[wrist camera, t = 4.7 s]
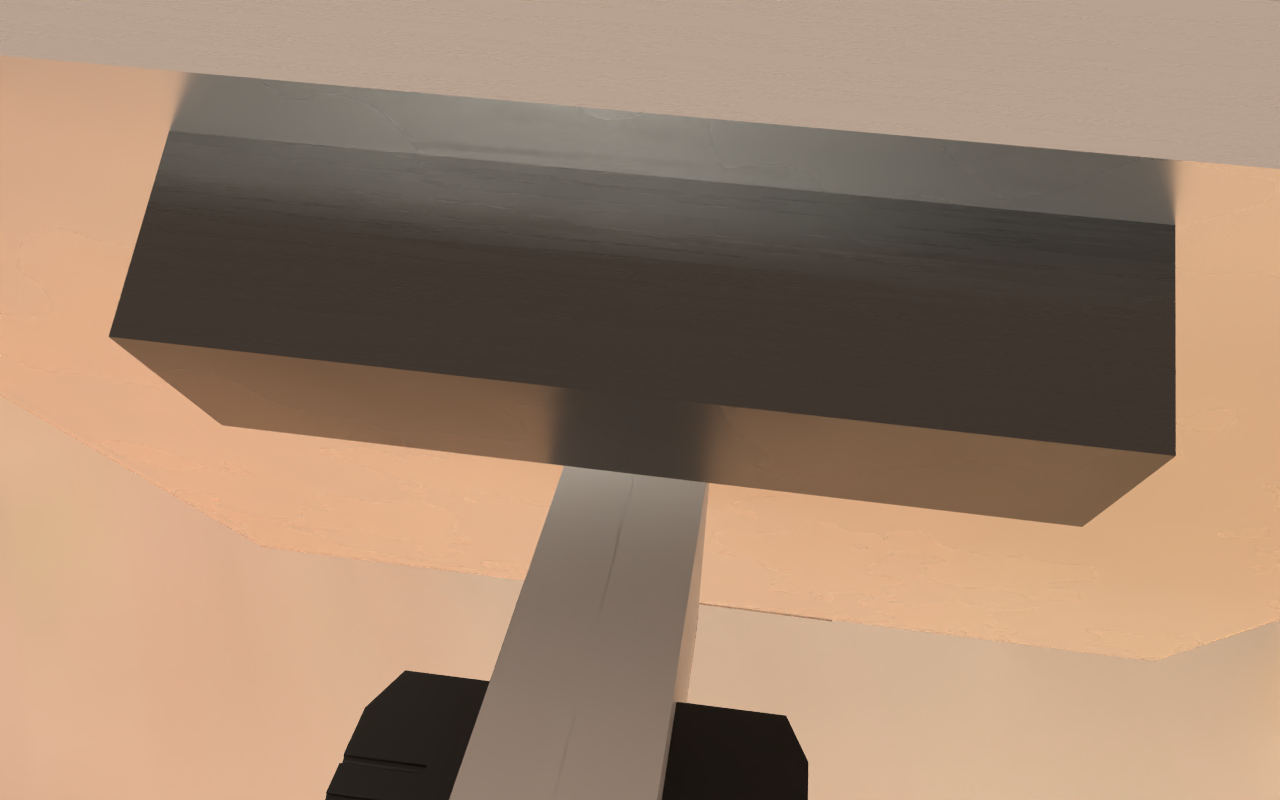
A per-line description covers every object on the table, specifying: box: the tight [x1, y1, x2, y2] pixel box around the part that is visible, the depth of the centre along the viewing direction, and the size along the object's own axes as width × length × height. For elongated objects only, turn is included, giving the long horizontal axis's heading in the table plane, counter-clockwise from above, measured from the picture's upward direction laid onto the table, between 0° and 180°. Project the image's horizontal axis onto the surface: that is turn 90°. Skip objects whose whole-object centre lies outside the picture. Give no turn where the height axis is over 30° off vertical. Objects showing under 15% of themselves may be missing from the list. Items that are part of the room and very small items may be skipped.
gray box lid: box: [0, 0, 1280, 661], centre depth 17 cm, size 20×19×3 cm
